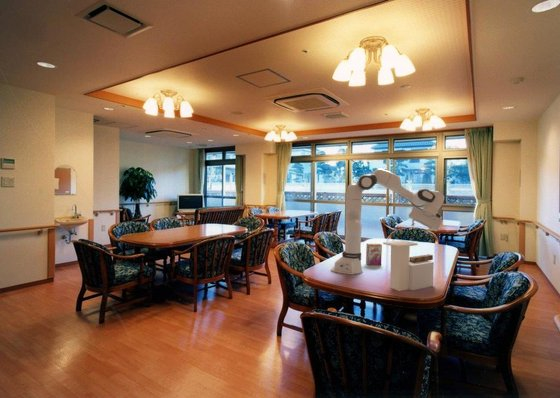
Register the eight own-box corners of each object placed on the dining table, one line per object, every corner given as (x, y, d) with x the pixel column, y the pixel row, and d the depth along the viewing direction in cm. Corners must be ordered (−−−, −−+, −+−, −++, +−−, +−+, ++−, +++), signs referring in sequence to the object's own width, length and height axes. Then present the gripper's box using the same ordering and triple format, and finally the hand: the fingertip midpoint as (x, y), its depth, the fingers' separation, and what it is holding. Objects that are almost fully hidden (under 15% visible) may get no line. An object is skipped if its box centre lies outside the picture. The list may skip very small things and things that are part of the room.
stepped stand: (397, 293, 185) (398, 245, 184) (382, 287, 196) (383, 242, 194) (433, 285, 199) (434, 241, 198) (416, 280, 210) (417, 238, 209)
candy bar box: (367, 265, 251) (368, 244, 250) (365, 263, 256) (366, 243, 255) (381, 265, 251) (382, 244, 251) (379, 263, 256) (379, 243, 256)
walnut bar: (413, 262, 197) (413, 258, 197) (409, 261, 199) (409, 257, 199) (432, 259, 205) (432, 255, 205) (428, 258, 208) (428, 254, 208)
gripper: (415, 203, 217) (404, 219, 214) (444, 218, 209) (434, 235, 206) (413, 207, 223) (403, 222, 220) (442, 221, 214) (432, 238, 212)
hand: (419, 229), depth 213 cm, fingers open, 8 cm apart
